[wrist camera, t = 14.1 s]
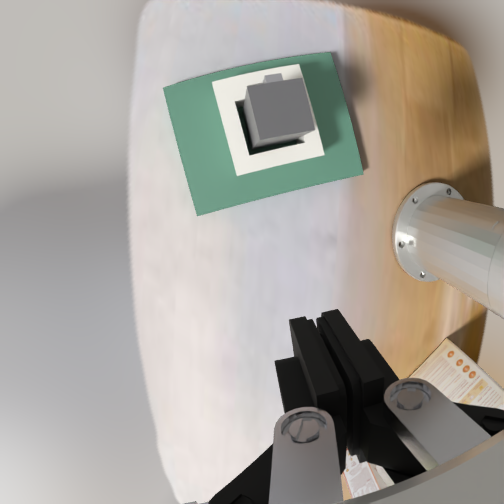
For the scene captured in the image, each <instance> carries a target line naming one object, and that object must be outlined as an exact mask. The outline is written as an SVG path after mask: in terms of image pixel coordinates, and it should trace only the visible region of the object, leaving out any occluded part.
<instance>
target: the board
mask: <svg viewBox="0 0 504 504" xmlns="http://www.w3.org/2000/svg"><path fill="white" fill-rule="evenodd" d="M295 64H299V66H300V69H301V72H302V75H303V78H304V82H305V85H306V88H307V92H308V95H309V99H310V102H311V106H312V109H313V113H314V116H315V120H316V124H317V127H318V131H319V135H320V139H321V143H322V147H323V151H324V155H323V156H318V157H314V158H309V159H305V160H300V161H296V162H292V163H287V164H283V165H279V166H275V167H271V168H267V169H263V170H259V171H255V172H251V173H247V174H243V175H239V176H237V175H236V171H235V167H234V164H233V160H232V156H231V152H230V149H229V145H228V141H227V138H226V134H225V130H224V126H223V123H222V119H221V115H220V112H219V108H218V104H217V101H216V97H215V93H214V89H213V85H212V82H214V81H217V80H221V79H225V78H229V77H234V76H238V75H242V74H247V73H252V72H256V71H261V70H266V69H272V68H277V67H283V66H289V65H295ZM163 90H164V94H165V98H166V102H167V106H168V110H169V114H170V118H171V122H172V126H173V130H174V134H175V137H176V141H177V145H178V149H179V152H180V156H181V160H182V164H183V167H184V171H185V175H186V178H187V182H188V185H189V189H190V192H191V196H192V200H193V203H194V206H195V210H196V213H197V216H200V215H204V214H207V213H211V212H214V211H218V210H221V209H225V208H229V207H232V206H236V205H240V204H243V203H247V202H251V201H255V200H259V199H262V198H266V197H270V196H274V195H278V194H282V193H286V192H290V191H294V190H298V189H302V188H306V187H310V186H315V185H319V184H323V183H327V182H332V181H336V180H340V179H345V178H349V177H354V176H358V175H363V169H362V165H361V160H360V156H359V151H358V147H357V143H356V139H355V135H354V131H353V127H352V123H351V119H350V115H349V112H348V108H347V105H346V101H345V98H344V94H343V91H342V87H341V84H340V81H339V78H338V74H337V71H336V68H335V65H334V62H333V59H332V56H331V53H330V52H327V53H318V54H310V55H302V56H295V57H288V58H282V59H276V60H271V61H265V62H260V63H255V64H250V65H245V66H241V67H236V68H232V69H228V70H224V71H219V72H216V73H212V74H208V75H204V76H201V77H197V78H193V79H190V80H187V81H183V82H180V83H177V84H174V85H170V86H167V87H164V88H163ZM237 112H238V115H239V119H240V123H241V126H242V130H243V134H244V138H245V141H246V145H247V149H248V152H249V156H250V155H254V154H258V153H262V152H266V151H270V150H275V149H279V148H283V147H288V146H292V145H297V142H296V139H295V140H293V141H291V142H287V143H282V144H277V145H272V146H267V147H262V148H258V149H253V150H251V146H250V142H249V138H248V133H247V129H246V125H245V121H244V117H243V113H242V112H243V107H239V108H237Z"/></svg>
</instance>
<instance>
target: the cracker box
mask: <svg viewBox="0 0 504 504" xmlns="http://www.w3.org/2000/svg"><path fill="white" fill-rule="evenodd" d="M343 475H344V478H345V481H346V484H347V487H348V489H349V492H350V495H351V498H356V497H359V496H362V495H366V494H369V493H372V492H375V491H378V490H381V489H384V488H386V487H387V485H386V484H385V482H384V481H383V479H382V478H381V476H380V475H379V473H378V471H377V469H376V465H374V464H371V463H368V462H367V461H366V462H363V463H359V461H358V458H357V456H356V455H354V456H350V454H349V451H348V449H347V451H346V469H345V470H344V471H343Z"/></svg>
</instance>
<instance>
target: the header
mask: <svg viewBox="0 0 504 504" xmlns="http://www.w3.org/2000/svg"><path fill="white" fill-rule="evenodd" d="M278 73H281V74H282V77H283V80H290V79H297V78H302V79H303V82H304V78H303V75H302V72H301V69H300V66H299V64H295V65H289V66H283V67H277V68H272V69H266V70H261V71H256V72H252V73H247V74H242V75H238V76H234V77H229V78H225V79H221V80H217V81H214V82H212V85H213V89H214V93H215V97H216V101H217V104H218V108H219V112H220V115H221V119H222V123H223V126H224V130H225V134H226V138H227V141H228V145H229V149H230V152H231V156H232V160H233V164H234V167H235V171H236V175H237V176H239V175H243V174H247V173H251V172H255V171H259V170H263V169H267V168H271V167H275V166H279V165H283V164H287V163H292V162H296V161H300V160H305V159H309V158H314V157H318V156H323V155H324V151H323V147H322V143H321V139H320V135H319V131H318V127H317V124H316V120H315V116H314V113H313V109H312V106H311V102H310V99H309V95H308V92H307V88H306V85H305V82H304V86H305V90H306V94H307V98H308V101H309V105H310V109H311V113H312V118H313V122H314V126H315V130H314V131H312V132H310V133H308V134H306V135H304V136H302V137H299V138H297V139H296V142H297V145H292V146H288V147H283V148H279V149H275V150H270V151H266V152H262V153H258V154H254V155H250V156H249V152H248V149H247V145H246V141H245V138H244V134H243V130H242V126H241V123H240V119H239V115H238V112H237V108H239V107H243V106H244V101H245V95H246V89H247V87H248V86H253V85H259V84H262V82H263V79H264V76H265V75H271V74H278Z"/></svg>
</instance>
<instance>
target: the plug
mask: <svg viewBox="0 0 504 504" xmlns="http://www.w3.org/2000/svg"><path fill="white" fill-rule="evenodd" d="M242 113H243V117H244V121H245V125H246V129H247V133H248V138H249V142H250V146H251V150H253V149H258V148H262V147H267V146H272V145H277V144H282V143H287V142H291V141H293V140H295V139H297V138H299V137H302V136H304V135H306V134H308V133H310V132H312V131H314V130H315V126H314V122H313V118H312V113H311V109H310V105H309V101H308V98H307V94H306V90H305V86H304V82H303V79H302V78H297V79H290V80H283V77H282V74H281V73H278V74H271V75H265V76H264V79H263V82H262V84H259V85H253V86H248V87H247V89H246V95H245V101H244V106H243V112H242Z"/></svg>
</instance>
